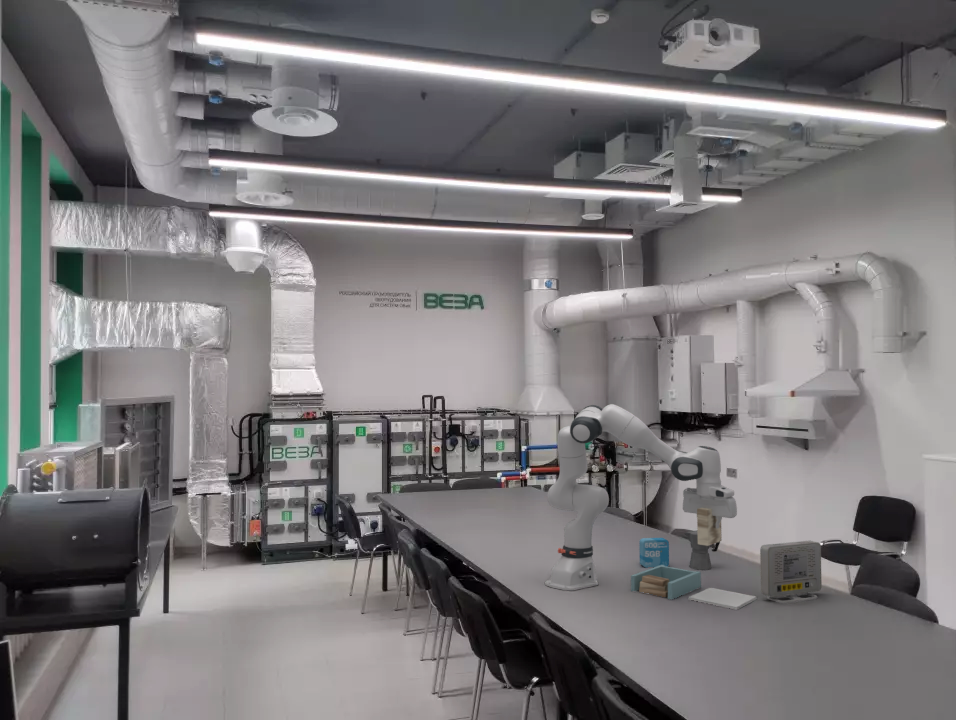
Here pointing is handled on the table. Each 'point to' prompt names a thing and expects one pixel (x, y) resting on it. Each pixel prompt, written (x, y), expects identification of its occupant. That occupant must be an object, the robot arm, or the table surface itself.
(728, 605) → the pad
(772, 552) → the network device
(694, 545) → the coffeepot
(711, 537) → the beige wooden block
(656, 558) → the data package
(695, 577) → the tray
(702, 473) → the robot arm
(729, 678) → the table surface
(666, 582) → the offcut stack
